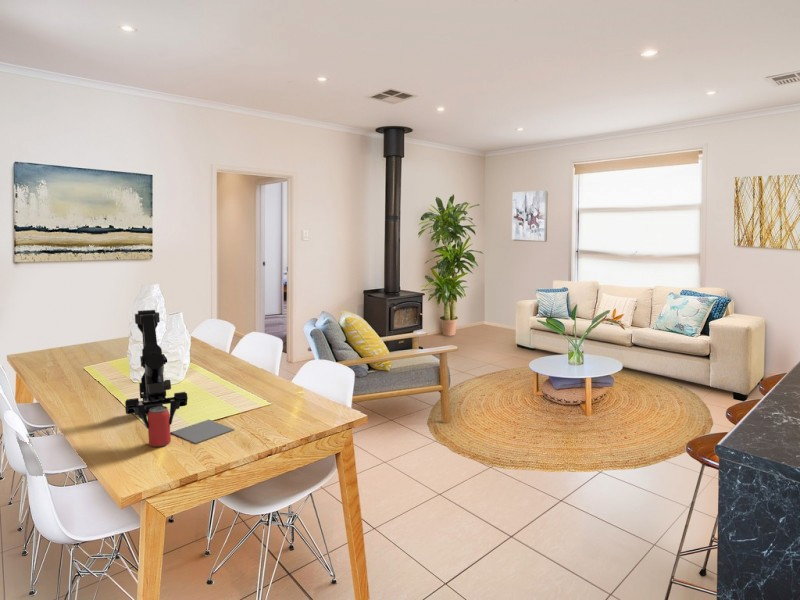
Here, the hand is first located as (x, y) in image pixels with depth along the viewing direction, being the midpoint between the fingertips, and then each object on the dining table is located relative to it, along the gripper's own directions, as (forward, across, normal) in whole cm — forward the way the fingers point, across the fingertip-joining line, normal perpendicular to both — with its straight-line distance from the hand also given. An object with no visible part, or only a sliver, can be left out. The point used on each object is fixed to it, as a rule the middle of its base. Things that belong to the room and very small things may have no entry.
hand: (159, 425), depth 168 cm
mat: (+1, +14, +8) cm, 16 cm away
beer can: (+4, 0, +6) cm, 7 cm away
